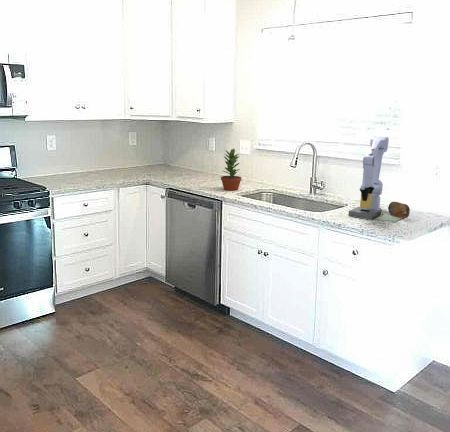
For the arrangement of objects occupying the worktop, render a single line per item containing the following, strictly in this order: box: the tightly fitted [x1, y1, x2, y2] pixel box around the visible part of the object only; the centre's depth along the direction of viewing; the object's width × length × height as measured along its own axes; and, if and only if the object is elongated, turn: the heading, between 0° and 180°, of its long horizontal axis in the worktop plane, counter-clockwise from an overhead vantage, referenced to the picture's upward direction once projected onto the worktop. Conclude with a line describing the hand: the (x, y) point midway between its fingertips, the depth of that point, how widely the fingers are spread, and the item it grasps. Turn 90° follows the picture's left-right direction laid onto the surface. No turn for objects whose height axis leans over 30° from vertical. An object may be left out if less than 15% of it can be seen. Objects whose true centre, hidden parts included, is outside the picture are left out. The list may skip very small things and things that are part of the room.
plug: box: [359, 193, 372, 209], centre depth 295 cm, size 4×5×8 cm
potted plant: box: [220, 147, 242, 192], centre depth 362 cm, size 15×15×30 cm
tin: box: [387, 201, 411, 220], centre depth 295 cm, size 15×3×8 cm, turn 24°
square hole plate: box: [348, 206, 382, 221], centre depth 297 cm, size 14×14×3 cm
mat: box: [375, 214, 402, 223], centre depth 290 cm, size 11×11×1 cm
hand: (366, 200), depth 295 cm, fingers closed on plug, 4 cm apart
